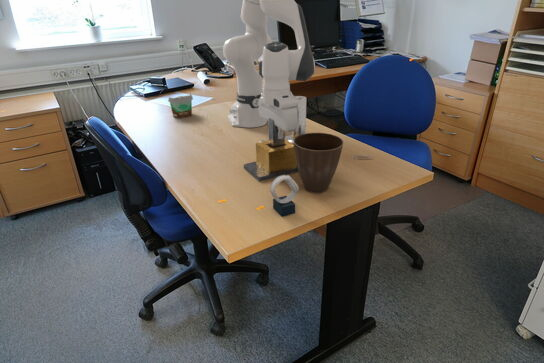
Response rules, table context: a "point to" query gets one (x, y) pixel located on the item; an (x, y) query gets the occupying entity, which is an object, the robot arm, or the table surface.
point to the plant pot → (317, 159)
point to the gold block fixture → (278, 151)
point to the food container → (181, 106)
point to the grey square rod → (275, 135)
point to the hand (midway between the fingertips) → (276, 136)
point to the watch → (284, 203)
